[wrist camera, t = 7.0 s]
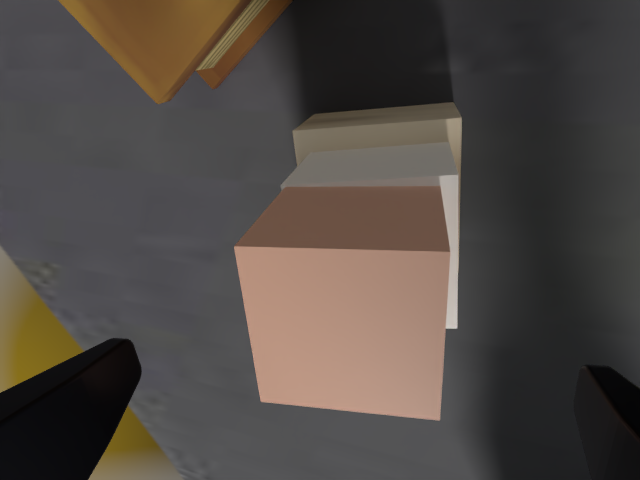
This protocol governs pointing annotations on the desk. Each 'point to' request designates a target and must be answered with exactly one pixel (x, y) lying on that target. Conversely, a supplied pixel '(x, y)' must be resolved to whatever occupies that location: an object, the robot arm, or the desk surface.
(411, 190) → the cube
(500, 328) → the desk surface
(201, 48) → the diary
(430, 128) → the tower base
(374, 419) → the desk surface
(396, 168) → the tower top
